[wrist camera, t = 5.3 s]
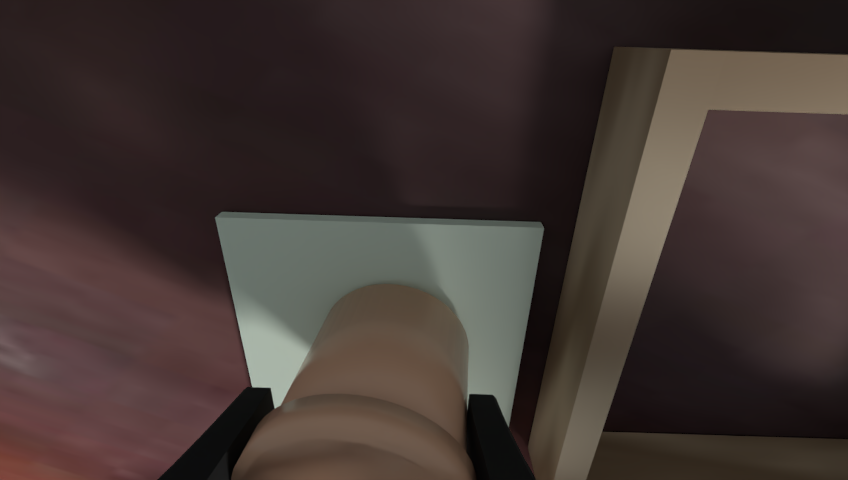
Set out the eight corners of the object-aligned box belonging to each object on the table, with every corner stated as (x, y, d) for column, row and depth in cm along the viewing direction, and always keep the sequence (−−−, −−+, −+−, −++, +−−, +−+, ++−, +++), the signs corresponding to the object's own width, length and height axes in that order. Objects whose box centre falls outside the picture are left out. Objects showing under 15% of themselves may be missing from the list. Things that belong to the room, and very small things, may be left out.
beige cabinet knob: (468, 411, 14) (464, 592, 9) (321, 392, 14) (251, 558, 10) (486, 286, 11) (492, 451, 7) (309, 268, 12) (208, 412, 7)
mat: (503, 437, 15) (505, 446, 15) (267, 430, 15) (263, 439, 15) (540, 221, 11) (544, 227, 11) (221, 211, 11) (214, 217, 11)
